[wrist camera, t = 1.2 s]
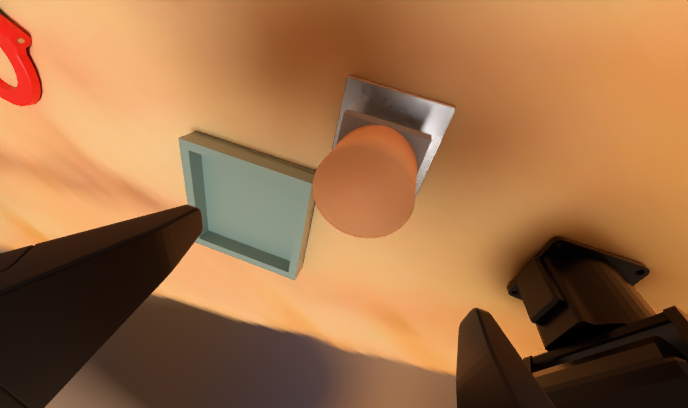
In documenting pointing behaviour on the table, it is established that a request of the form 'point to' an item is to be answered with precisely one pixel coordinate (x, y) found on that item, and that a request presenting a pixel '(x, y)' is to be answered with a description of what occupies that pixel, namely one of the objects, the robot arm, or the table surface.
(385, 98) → the stud fixture
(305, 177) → the bin
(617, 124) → the table surface
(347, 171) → the tan cylindrical plug
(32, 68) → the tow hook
